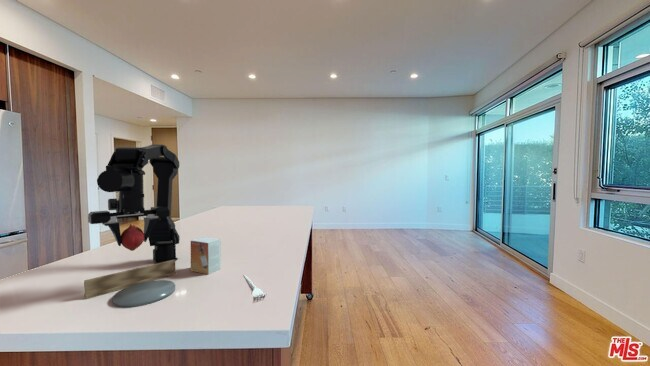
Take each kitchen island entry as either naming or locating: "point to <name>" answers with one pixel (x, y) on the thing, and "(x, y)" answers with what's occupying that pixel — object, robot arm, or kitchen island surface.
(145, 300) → the slate plate
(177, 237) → the robot arm
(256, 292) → the fork
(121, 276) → the walnut screen
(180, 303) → the kitchen island surface
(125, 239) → the onion
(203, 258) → the small box
